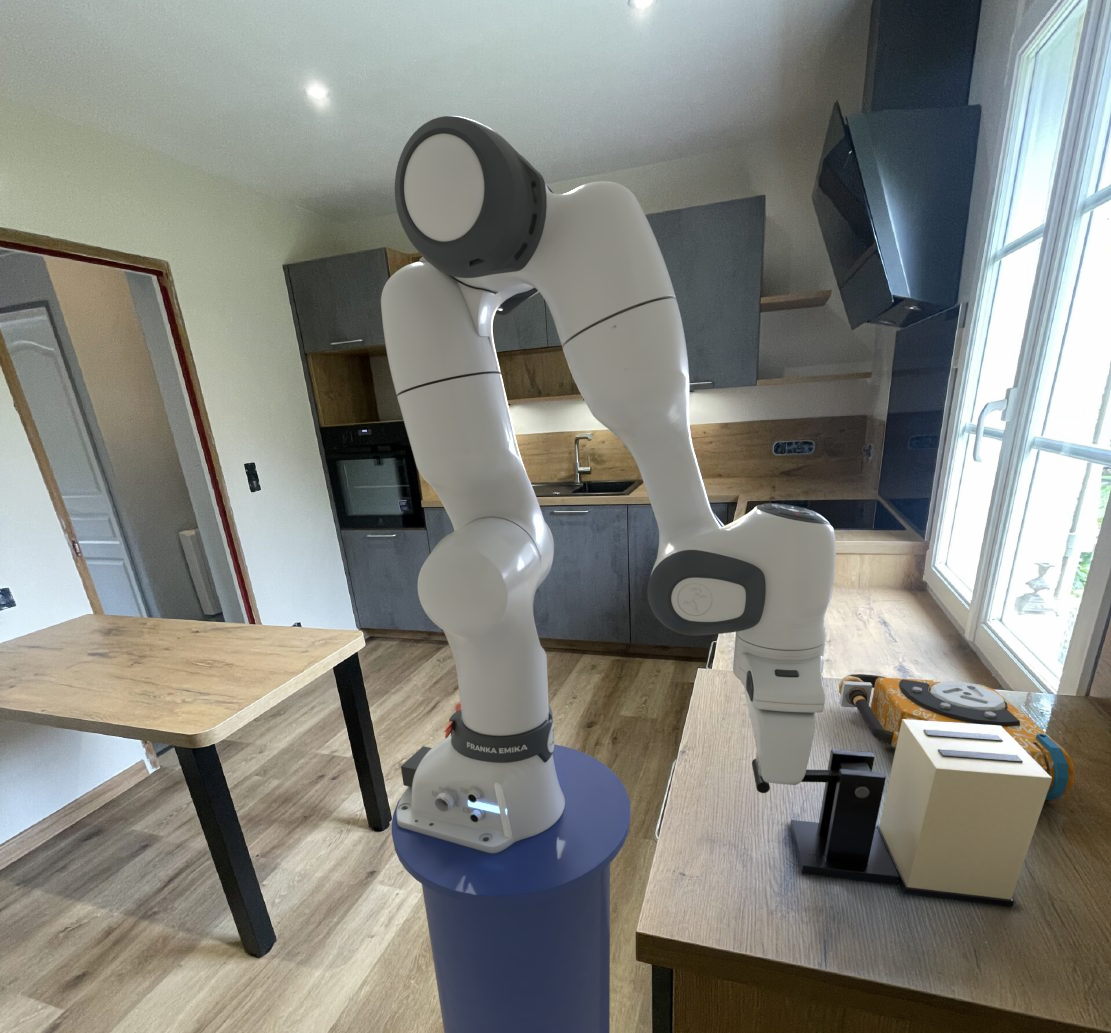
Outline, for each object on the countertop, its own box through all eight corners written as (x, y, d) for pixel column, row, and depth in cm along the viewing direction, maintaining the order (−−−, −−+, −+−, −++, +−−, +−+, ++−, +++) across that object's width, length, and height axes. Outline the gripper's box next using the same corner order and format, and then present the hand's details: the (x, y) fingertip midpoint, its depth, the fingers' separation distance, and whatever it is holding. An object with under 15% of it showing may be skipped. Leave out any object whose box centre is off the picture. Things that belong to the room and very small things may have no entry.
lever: (756, 796, 65) (756, 778, 65) (751, 771, 70) (751, 754, 69) (874, 799, 63) (876, 780, 62) (861, 772, 67) (862, 755, 66)
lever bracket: (801, 873, 66) (816, 779, 61) (790, 827, 73) (802, 740, 69) (897, 885, 64) (920, 789, 59) (875, 836, 71) (894, 747, 67)
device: (892, 746, 75) (835, 655, 102) (881, 799, 78) (828, 696, 105) (1094, 760, 71) (979, 661, 98) (1074, 815, 74) (967, 704, 101)
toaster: (904, 893, 63) (935, 768, 57) (875, 830, 72) (899, 716, 67) (1012, 907, 61) (1056, 778, 55) (968, 839, 70) (1002, 723, 64)
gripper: (738, 625, 72) (730, 722, 77) (756, 702, 53) (744, 824, 58) (792, 627, 70) (780, 726, 76) (830, 706, 52) (811, 831, 57)
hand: (765, 769), depth 67 cm, fingers closed, pressing on lever
